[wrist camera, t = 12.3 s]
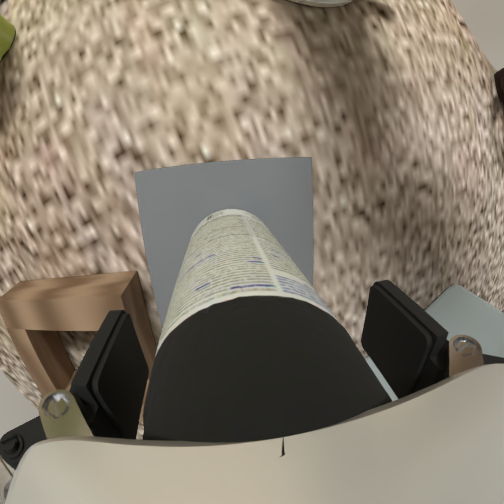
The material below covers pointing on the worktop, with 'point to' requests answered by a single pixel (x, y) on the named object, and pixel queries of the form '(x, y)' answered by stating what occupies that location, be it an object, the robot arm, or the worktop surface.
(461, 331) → the alarm clock
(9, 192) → the worktop surface
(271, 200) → the slate coaster
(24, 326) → the walnut collar
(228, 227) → the spray can
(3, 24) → the plant pot
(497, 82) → the cup
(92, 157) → the worktop surface
